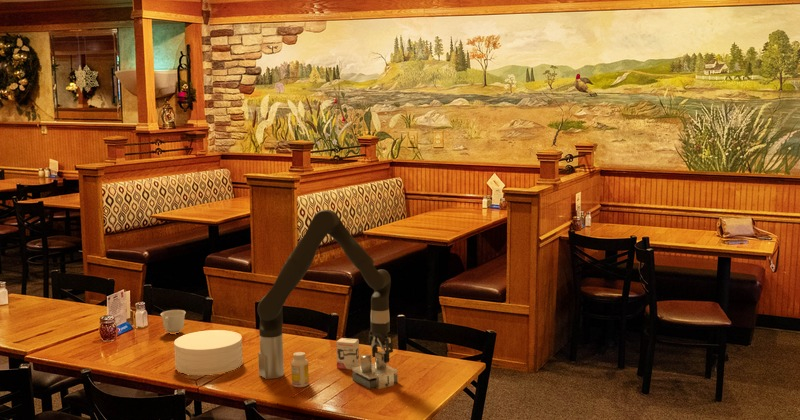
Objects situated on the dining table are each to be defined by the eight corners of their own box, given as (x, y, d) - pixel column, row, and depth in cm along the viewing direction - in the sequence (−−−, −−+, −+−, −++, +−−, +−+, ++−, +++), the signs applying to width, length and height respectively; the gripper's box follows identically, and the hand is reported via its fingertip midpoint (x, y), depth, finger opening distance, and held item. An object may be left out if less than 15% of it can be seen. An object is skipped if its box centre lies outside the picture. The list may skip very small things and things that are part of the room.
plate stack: (162, 366, 359) (161, 340, 357) (217, 351, 379) (216, 326, 377) (200, 381, 340) (198, 354, 338) (256, 364, 360) (255, 338, 358)
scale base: (372, 390, 325) (372, 378, 325) (352, 380, 338) (352, 368, 337) (400, 383, 332) (400, 371, 332) (379, 373, 345) (379, 361, 344)
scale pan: (369, 381, 327) (369, 376, 326) (352, 372, 337) (352, 367, 337) (397, 375, 334) (397, 370, 334) (379, 366, 345) (379, 361, 344)
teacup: (154, 338, 400) (153, 317, 398) (168, 329, 414) (166, 309, 413) (178, 338, 398) (177, 318, 396) (191, 329, 412) (190, 310, 411)
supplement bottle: (306, 381, 337) (305, 350, 336) (310, 386, 331) (309, 355, 329) (290, 383, 335) (289, 352, 333) (293, 388, 329) (292, 357, 327)
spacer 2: (379, 369, 334) (379, 355, 333) (373, 366, 338) (373, 352, 337) (388, 367, 336) (388, 353, 336) (382, 364, 340) (382, 350, 339)
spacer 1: (364, 373, 330) (363, 358, 329) (358, 370, 334) (358, 355, 333) (373, 371, 332) (373, 356, 332) (367, 368, 336) (367, 353, 335)
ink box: (336, 368, 352) (335, 341, 351) (340, 364, 357) (340, 337, 355) (355, 370, 350) (355, 342, 348) (359, 366, 354) (359, 339, 353)
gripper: (362, 317, 338) (363, 356, 340) (381, 325, 326) (382, 366, 329) (378, 314, 342) (379, 353, 344) (397, 322, 330) (398, 362, 333)
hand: (380, 359), depth 336 cm, fingers open, 8 cm apart
